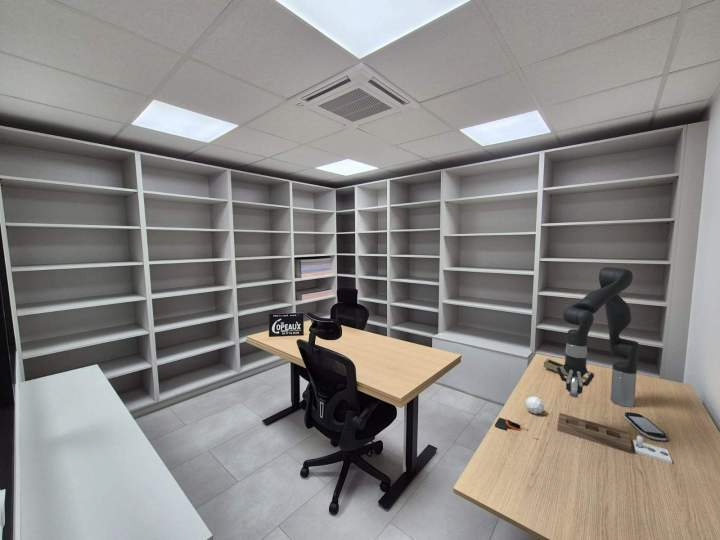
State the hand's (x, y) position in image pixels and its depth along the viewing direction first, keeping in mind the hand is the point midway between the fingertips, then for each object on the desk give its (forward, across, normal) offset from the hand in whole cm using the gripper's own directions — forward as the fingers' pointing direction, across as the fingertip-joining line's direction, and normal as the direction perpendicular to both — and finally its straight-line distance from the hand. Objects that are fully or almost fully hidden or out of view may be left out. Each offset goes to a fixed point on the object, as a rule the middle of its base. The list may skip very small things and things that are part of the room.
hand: (573, 391), depth 130 cm
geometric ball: (+17, +15, -5) cm, 23 cm away
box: (+17, +6, -65) cm, 68 cm away
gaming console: (+18, -26, -20) cm, 37 cm away
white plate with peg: (+17, -26, 0) cm, 31 cm away
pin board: (+17, -7, 0) cm, 18 cm away
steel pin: (+2, 0, 0) cm, 2 cm away
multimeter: (+18, +19, +14) cm, 29 cm away
